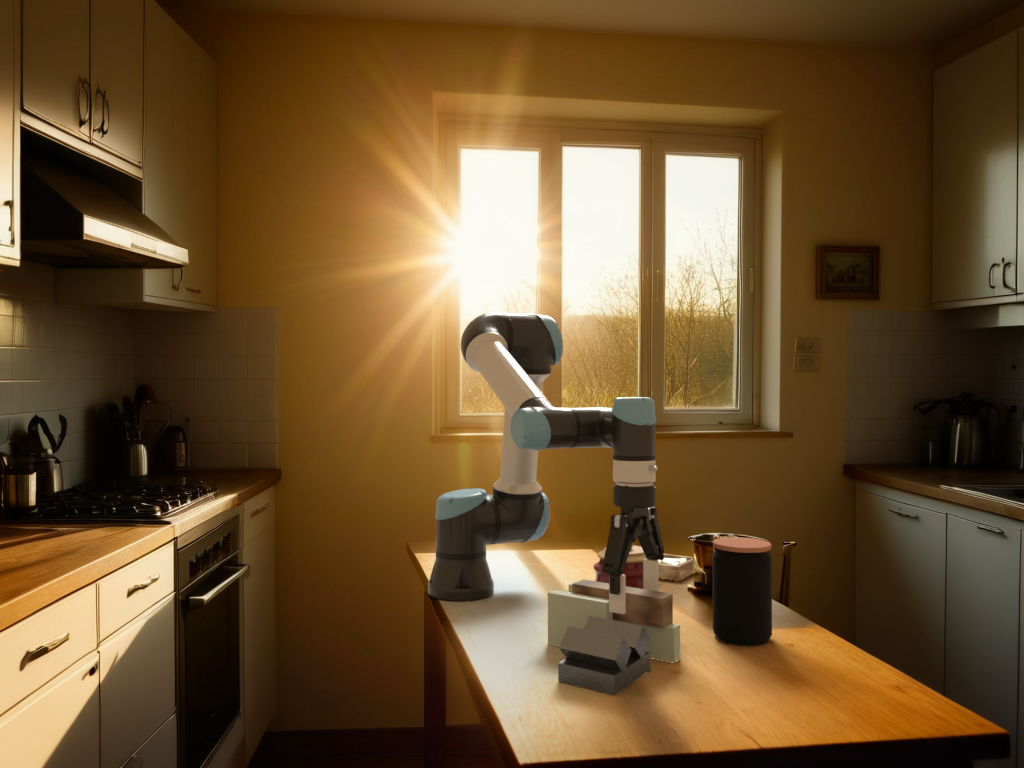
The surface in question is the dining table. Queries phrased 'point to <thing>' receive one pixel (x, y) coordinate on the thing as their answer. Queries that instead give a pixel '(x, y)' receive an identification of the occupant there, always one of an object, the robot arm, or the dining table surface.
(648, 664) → the v block
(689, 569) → the tray
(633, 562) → the canister
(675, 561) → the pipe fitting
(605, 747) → the dining table surface
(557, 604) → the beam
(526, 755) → the dining table surface
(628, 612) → the bar
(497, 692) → the dining table surface
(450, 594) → the robot arm
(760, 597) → the coffee jar
